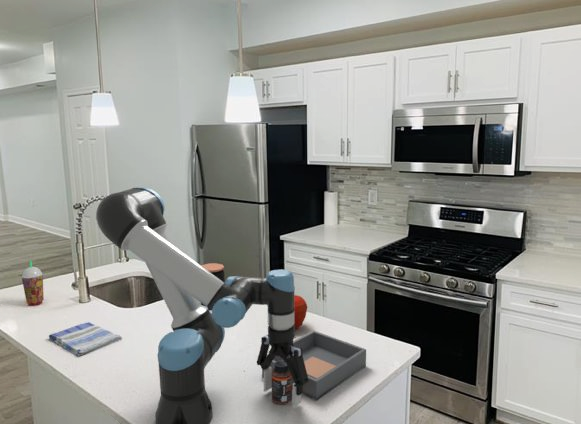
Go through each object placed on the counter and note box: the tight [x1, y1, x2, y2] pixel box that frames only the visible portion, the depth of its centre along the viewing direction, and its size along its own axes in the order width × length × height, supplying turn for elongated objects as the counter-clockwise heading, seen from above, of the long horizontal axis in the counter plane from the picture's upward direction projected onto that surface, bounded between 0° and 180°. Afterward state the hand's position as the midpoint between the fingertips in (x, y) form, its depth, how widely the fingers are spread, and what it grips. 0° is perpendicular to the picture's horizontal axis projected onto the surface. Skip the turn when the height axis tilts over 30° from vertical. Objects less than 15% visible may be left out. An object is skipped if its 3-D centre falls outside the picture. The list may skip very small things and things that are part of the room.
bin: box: [268, 330, 367, 401], centre depth 151 cm, size 26×22×6 cm
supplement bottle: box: [271, 360, 293, 405], centre depth 135 cm, size 6×6×11 cm
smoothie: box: [21, 260, 45, 307], centre depth 209 cm, size 8×8×20 cm
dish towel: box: [48, 321, 123, 357], centre depth 175 cm, size 17×24×3 cm
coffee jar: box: [200, 262, 226, 311], centre depth 205 cm, size 11×11×18 cm
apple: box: [294, 294, 308, 330], centre depth 182 cm, size 12×12×14 cm
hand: (282, 396), depth 135 cm, fingers open, 11 cm apart
